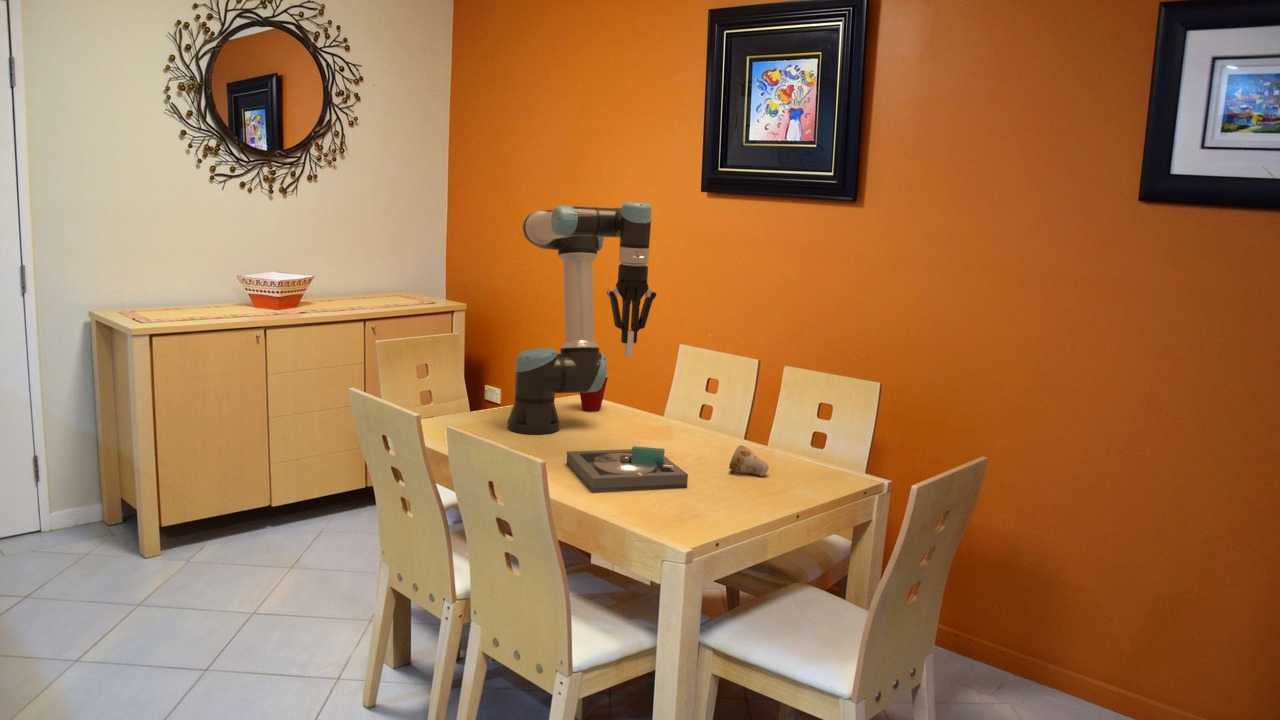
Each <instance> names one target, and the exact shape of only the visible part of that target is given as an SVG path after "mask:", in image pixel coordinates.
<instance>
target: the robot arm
mask: <svg viewBox="0 0 1280 720" xmlns="http://www.w3.org/2000/svg"><path fill="white" fill-rule="evenodd" d="M652 220H653V217H652V205H651V204H649V203H647V202H646V203H644V202H630V201H626V202H623V204H622V205H621V207H600V206H599V207H594V206H593V207H592V206H575V205H574V206H573V205H570V204H569V205H556V206H555V207H554V208H553V209H542V210H537V211H533V212H531V213H530V214H528V215H527V216H526V217H525V219H524V221H523V223H522V232H523V236H524V238H525V239H526V240H527V241H528V243H530V244H531V245H533V246H534V247H537V248H540V249H545V250H553V251H554V250H556V251H557V256H558V259H560V260H561V261H562V263H563V297H564V298H563V300H564V330H565V331H564V336H565V338H564V339H565V340H564V343H563V344H562V345H561V346H560V353H558V352H557V351H556V349H554V348H543V347H542V348H541V347H539V348H533V349H528V350H524V351H521V352H519V354H518V355H517V357H516V361H515V368H514V371H515V376H514V378H515V379H514V401H513V402H514V404H513V406H512V409H511V411H510V414H509V416H508V418H507V419H508V420H507V429H508V430H509V431H512V432H515V433H519V434H524V435H548V434H552V433H553V434H554V433H557V432H558V431H559V430H560V419H559V415H558V412H557V411H558V410H557V409H556V404H555V399H556V398H555V396H556V394H576V393H577V394H580V393H587V392H596V391H598V390H599V389H600V388H601V387H602V385H603V383H604V381H605V377H606V374H607V371H608V364H607V362H608V361H607V360H606V359H607V358H606V355H605V354H604V353H602V352H600V346H599V345H598V344H597V343H596V341H595V330H594V329H595V327H594V326H595V325H594V324H595V323H594V321H595V320H594V319H595V318H594V287H593V286H594V284H593V283H594V281H593V261H594V260H595V259H596V258H597V257H598V252H600V251H601V250H602V248H603V246H604V239H605V238H618V239H619V251H618V253H619V254H618V262H620V264H619V265H618V271H617V272H618V274H617V282H616V283H615V287H614V288H612V289H608V290H607V291H606V294H607V296H608V298H609V300H610V305H611V311H612V317H613V324H614V326H615V327H616V328H617V329H619V330H621V336H620V339H621V340H620V341H621V343H623V345H624V347H623V356H626V357H633V355H634V354H633V353H634V344H637V341H638V332H639V331H640V330H643V329H644V328H646V325H647V321H648V318H649V313H650V310H651V307H652V304H653V301H654V300H655V298H656V297H657V292H656V291H652V290H651V289H650V288H649V284H648V275H649V274H648V273H649V267H648V265H647V264H649V258H650V257H649V256H650V241H651V226H652ZM618 295H619V296H620V297H621V300H622V301H621V302H622V307H621V308H622V311H620V306H619V300H618ZM644 295H645V298H644V300H643V304H642V308H641V312H640V305H641V300H642V299H643V297H644ZM630 312H631V313H630ZM630 314H631V317H630Z"/></svg>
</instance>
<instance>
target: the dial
mask: <svg viewBox="0 0 1280 720" xmlns="http://www.w3.org/2000/svg"><path fill="white" fill-rule="evenodd" d="M631 449H632V453H609V454H603V455H600V456H597V457H596V458H595V459H594V467H593V468H594V469H595V470H596V471H597V472H598V473H599V474H600V475H616V474H637V473H657V465H661V466H663V465H664V456H665V452H666V451H665V450H666V449H665V448H660V447H659V448H658V447H646V446H634V445H633V446H632V447H631Z"/></svg>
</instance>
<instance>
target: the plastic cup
mask: <svg viewBox="0 0 1280 720" xmlns="http://www.w3.org/2000/svg"><path fill="white" fill-rule="evenodd" d="M609 378H610V375H609V374H608V373H606V377H605V381H604V383H603V385H602V387H601V388H600V389H599V390H598V391H596V392H587V393H579V395H580V397H579V398H580V402H581V403H580V404H581V409H583V410H584V412H587V411H598V412H599V410H600V411H601V408H602V403H603V399H604V395H605V390H606V386H607V383H608V379H609ZM583 410H582V411H583Z"/></svg>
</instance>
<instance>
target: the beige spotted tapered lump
mask: <svg viewBox="0 0 1280 720" xmlns="http://www.w3.org/2000/svg"><path fill="white" fill-rule="evenodd" d="M728 468H729V470H730V471H733V472H735V473H738V474H753V475H755V476H759V477H764V476H765V475H766V474H767V472H768V470H769V464H768V462H766V461H765V460H762V459H760V458H759V457H758V456H757V455H756V454H755V453H754V452H753V451H752V450H751V449H750V448H748V447H747V446H744V445H738V446H737V447H736V449H735V451H734V453H733V455H732V457H731V460H730V462H729V467H728Z"/></svg>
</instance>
